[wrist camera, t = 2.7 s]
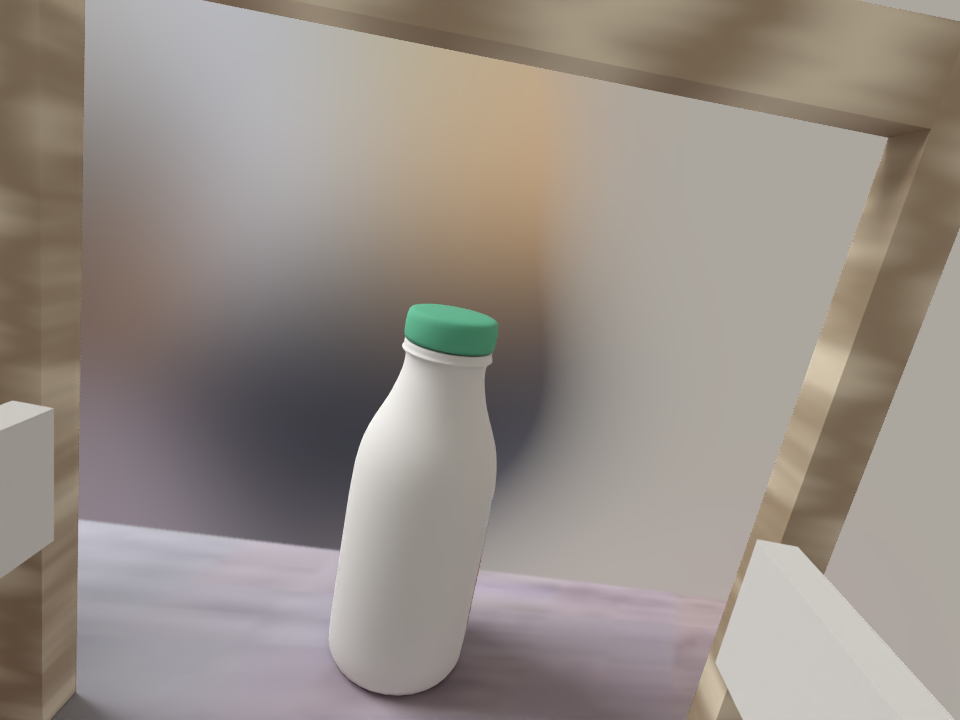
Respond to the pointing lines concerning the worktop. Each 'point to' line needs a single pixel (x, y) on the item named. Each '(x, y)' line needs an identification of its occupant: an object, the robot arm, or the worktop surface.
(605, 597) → the worktop surface
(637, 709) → the worktop surface
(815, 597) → the robot arm
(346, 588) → the milk bottle
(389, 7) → the door frame
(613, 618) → the worktop surface
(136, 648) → the worktop surface
